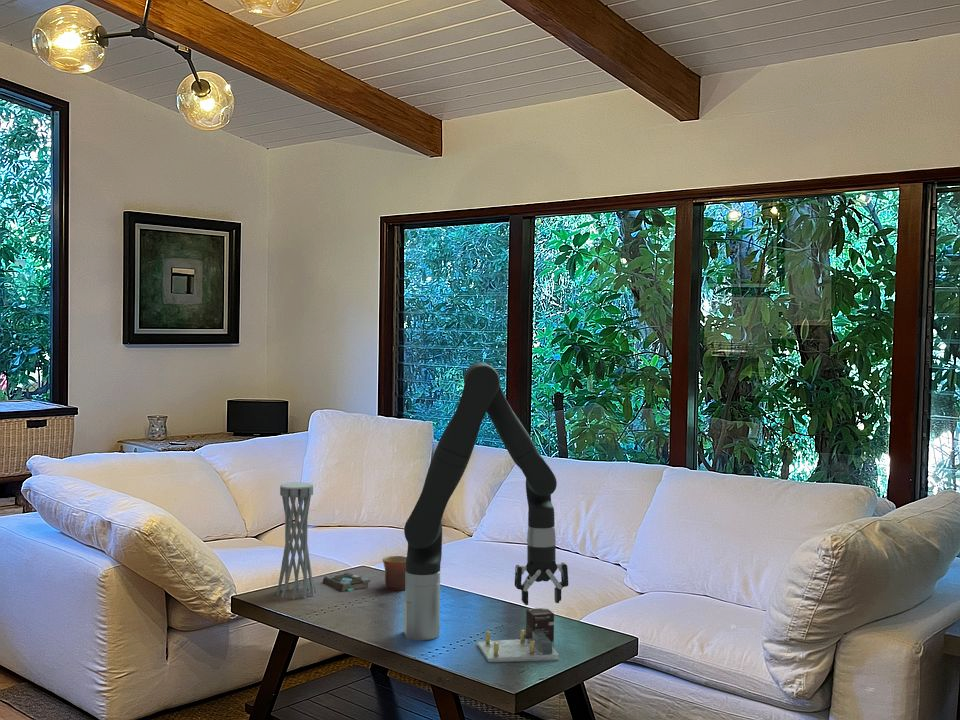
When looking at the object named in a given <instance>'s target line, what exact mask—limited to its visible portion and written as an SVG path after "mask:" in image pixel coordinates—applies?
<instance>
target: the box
mask: <svg viewBox="0 0 960 720" xmlns="http://www.w3.org/2000/svg"><path fill="white" fill-rule="evenodd" d="M525 611H526V615H525V616H526V619H525V637H527V639H532V631H540V630H541V631H542V632H543V633H544V634H545V635H546V636H547V637H548V638H549V640H550V641H551V642H553V641H554V640H555V639H554V638H555V613H554V612H552V611H551V610H550V609H549V608H548V607H547V608H546V607H545V608H543V607H542V608H540V607H539V608H537V607H535V608H526V610H525Z"/></svg>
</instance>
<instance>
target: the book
mask: <svg viewBox="0 0 960 720" xmlns="http://www.w3.org/2000/svg"><path fill="white" fill-rule="evenodd" d="M370 582H371V579H370V578H367V577H364V576H360V575H356V573H354V572H352V571H347V572H344V573H343V574H337V575H334V574H328V575H324V578H323V579H322V583H323V584H324V585H327V586H329V587H330V588H333V589H335V590H337V591H338V592H345V591H346V592H347V591H348V592H352V591H353V592H354V590H361V589H367V588H369V583H370Z"/></svg>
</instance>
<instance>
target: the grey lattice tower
mask: <svg viewBox="0 0 960 720" xmlns="http://www.w3.org/2000/svg"><path fill="white" fill-rule="evenodd" d="M279 485H280V486H279V496H281V498H282V504H283V511H284V515H285V516H284V530H285V531H284V532H285V533H284V549H283V555H282V561H281V566H280V574H279V578H278V585H277V588H276V592H275V596H279V595H280V593H281V596H280V598H281V599H284V598H286V594H287V591H288V590H289V589H290V588H289V587H290V586H289V583H290V582H289V581H290V577H291V574H292V571H293V574H294V583H293V589H292V590H293V591H292V596H291V599H292V600H295V599H296V596H297V595H296V593H297V590H300V583H299V576H300V575H299V574H300V569H301V573H302V576H303V579H302V580H303V585H302V586H303V588H302V589H303V590H302V594H303V596H302V597H303V599H305V600H306V599H307V598H308V591H310V595H311V597H315V595H316V593H317V591H316V587H315V583H314V579H313V573H312V567H311V565H312V564H311V558H310V553H309V547H308V516H309V511H310V504H311V497H312V496H313V495H314V483H310V482H286V483H280V484H279ZM296 500H297V501H298V507H296ZM290 503H291V504H290ZM290 505H291V507H290ZM299 542H300V543H299ZM293 543H294V545H293ZM290 554H291V555H290ZM302 554H303V555H302ZM296 555H297V556H298V558H297V564H296ZM289 556H291V557H289ZM289 559H290V560H289ZM300 567H301V568H300ZM283 580H284V585H283ZM282 586H283V587H282ZM281 591H282V592H281Z"/></svg>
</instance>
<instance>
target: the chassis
mask: <svg viewBox="0 0 960 720" xmlns="http://www.w3.org/2000/svg"><path fill="white" fill-rule="evenodd" d="M491 634H492V633H491V631H490V630H488V631H487V630H486V631H485V640H483V641H477V643H476V644H477V647H478V648H479V650H480V652H481V653H482V655H483V656H484V658H485V659H486V661H487V662H488V663H508V662H538V661H539V662H541V661H559V660H560V657H559V656H560V654H559V652H558V651H557V650H556V649H555V648H554V647H553V641H550V640H549V638H548V637H547V636H546V635H545V634H544V633H543V632H542V631H541V630H540V631H532V639H529V638H526V629H520V635H519V636H520V639H519V638H518V639H501V640H499V639H498V640H491Z"/></svg>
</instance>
